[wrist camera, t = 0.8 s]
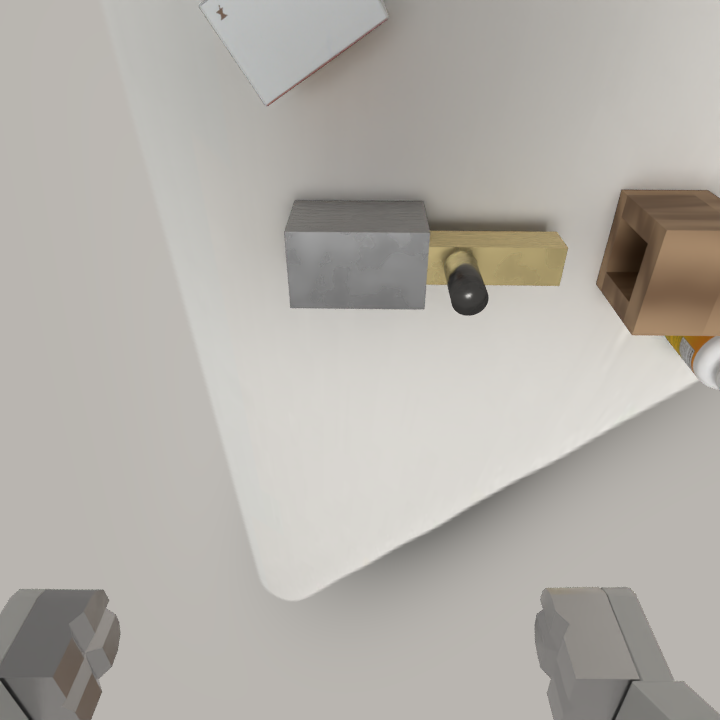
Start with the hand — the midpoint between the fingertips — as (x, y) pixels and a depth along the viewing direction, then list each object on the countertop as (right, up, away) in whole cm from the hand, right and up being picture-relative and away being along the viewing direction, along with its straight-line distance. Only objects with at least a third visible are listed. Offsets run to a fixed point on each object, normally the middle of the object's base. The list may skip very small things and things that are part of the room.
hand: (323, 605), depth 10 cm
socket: (+24, +14, +34) cm, 44 cm away
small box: (-2, +28, +26) cm, 38 cm away
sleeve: (+1, +15, +35) cm, 38 cm away
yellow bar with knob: (+6, +13, +33) cm, 36 cm away
